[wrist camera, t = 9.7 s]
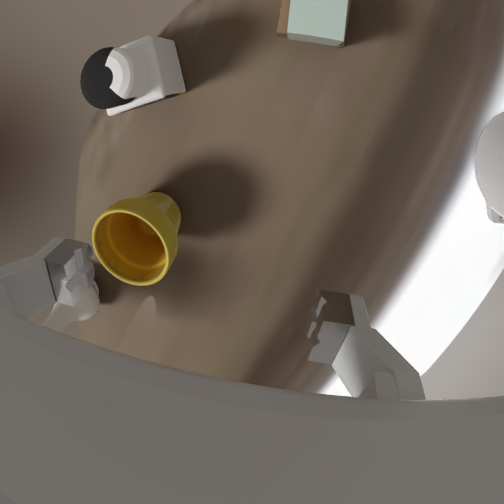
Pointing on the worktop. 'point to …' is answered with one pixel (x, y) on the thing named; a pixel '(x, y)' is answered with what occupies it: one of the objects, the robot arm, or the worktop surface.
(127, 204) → the plant pot
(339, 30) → the cube
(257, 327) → the worktop surface
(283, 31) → the block
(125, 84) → the medicine bottle
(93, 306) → the flower vase
